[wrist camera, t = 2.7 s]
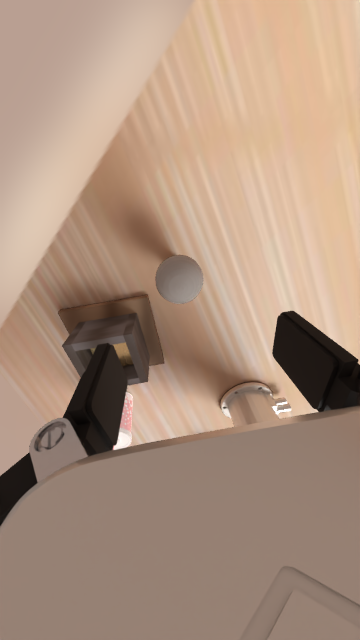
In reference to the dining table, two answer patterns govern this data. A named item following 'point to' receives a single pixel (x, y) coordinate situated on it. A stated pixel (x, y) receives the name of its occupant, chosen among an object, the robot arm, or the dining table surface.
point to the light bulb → (179, 279)
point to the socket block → (114, 334)
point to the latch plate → (121, 353)
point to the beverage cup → (125, 424)
